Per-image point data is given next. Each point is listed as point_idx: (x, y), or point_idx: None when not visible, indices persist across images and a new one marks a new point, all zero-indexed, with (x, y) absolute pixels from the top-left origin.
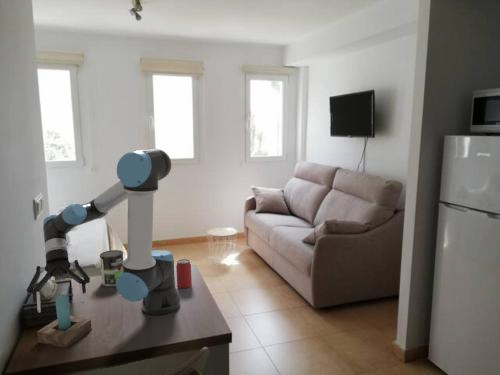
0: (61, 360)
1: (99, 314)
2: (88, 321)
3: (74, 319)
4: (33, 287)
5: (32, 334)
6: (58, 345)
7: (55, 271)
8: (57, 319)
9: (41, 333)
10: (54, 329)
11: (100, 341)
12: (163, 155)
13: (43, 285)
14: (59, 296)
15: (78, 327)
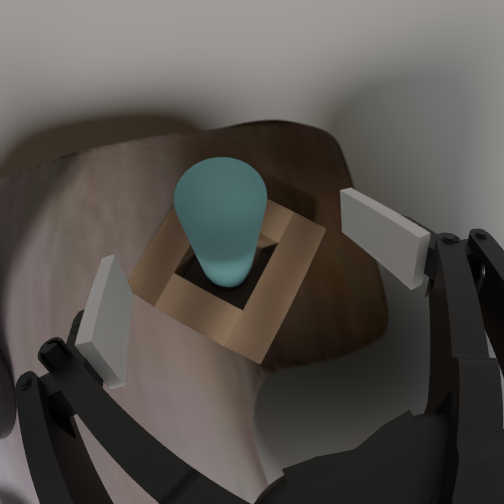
0: (204, 137)
1: (137, 412)
2: (132, 275)
3: (195, 303)
4: (478, 295)
5: (356, 303)
6: None
7: (411, 460)
8: (277, 321)
9: (304, 219)
10: (260, 230)
11: (106, 210)
12: None
13: (433, 331)
14: (243, 213)
15: (162, 227)
